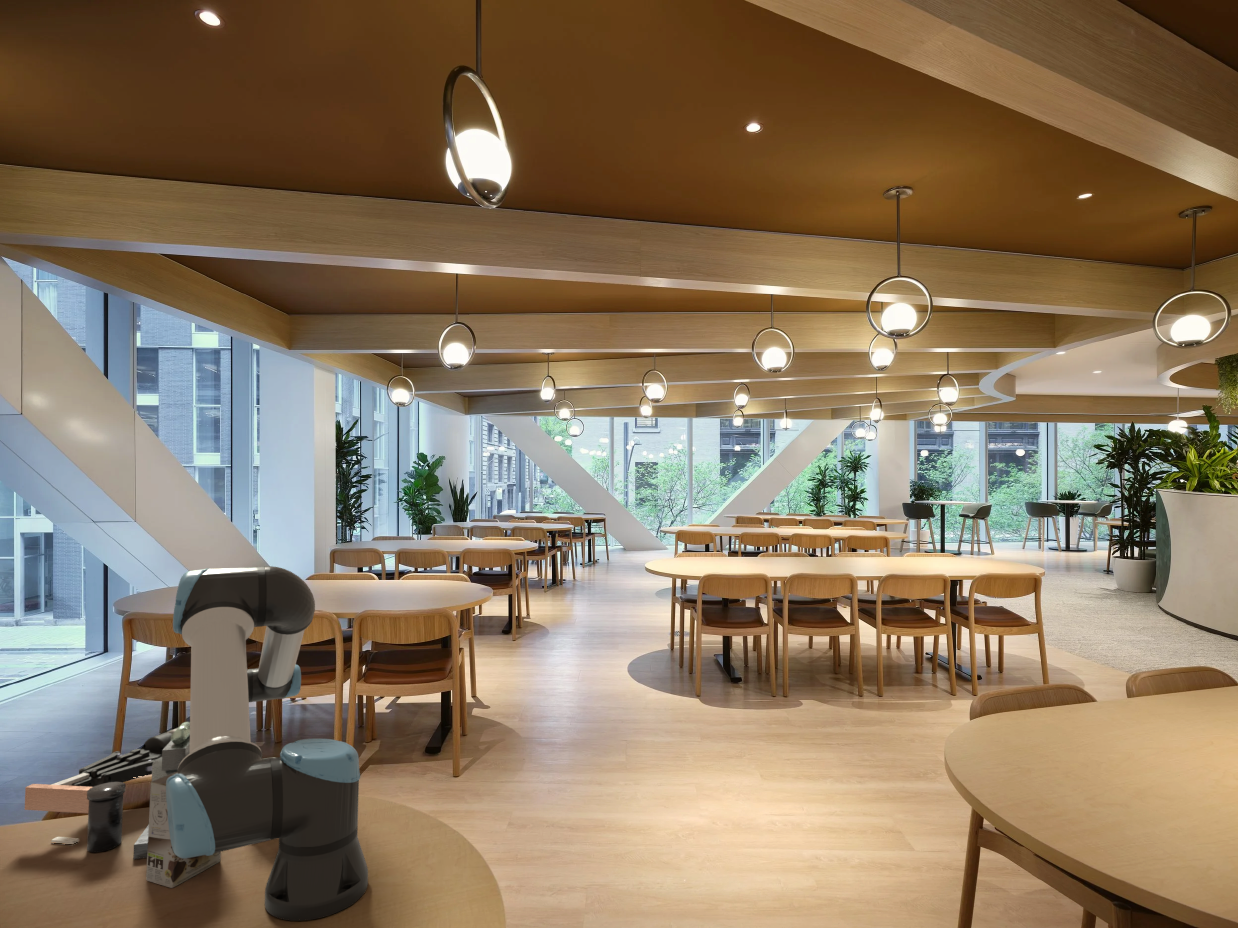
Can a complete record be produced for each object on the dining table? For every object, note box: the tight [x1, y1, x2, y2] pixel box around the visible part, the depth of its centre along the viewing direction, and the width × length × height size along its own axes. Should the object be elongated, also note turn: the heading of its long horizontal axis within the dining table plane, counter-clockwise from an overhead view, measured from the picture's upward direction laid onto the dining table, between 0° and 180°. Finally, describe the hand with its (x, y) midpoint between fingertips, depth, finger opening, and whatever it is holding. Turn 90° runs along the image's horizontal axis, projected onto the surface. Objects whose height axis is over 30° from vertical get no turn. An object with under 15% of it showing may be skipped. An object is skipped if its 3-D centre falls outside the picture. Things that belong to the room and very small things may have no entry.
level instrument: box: [132, 721, 190, 860], centre depth 129 cm, size 11×11×20 cm
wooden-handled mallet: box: [24, 782, 127, 853], centre depth 127 cm, size 18×6×10 cm, turn 85°
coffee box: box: [145, 771, 222, 889], centre depth 118 cm, size 9×6×16 cm
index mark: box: [50, 836, 80, 845], centre depth 127 cm, size 4×1×1 cm, turn 82°
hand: (49, 794), depth 128 cm, fingers closed
